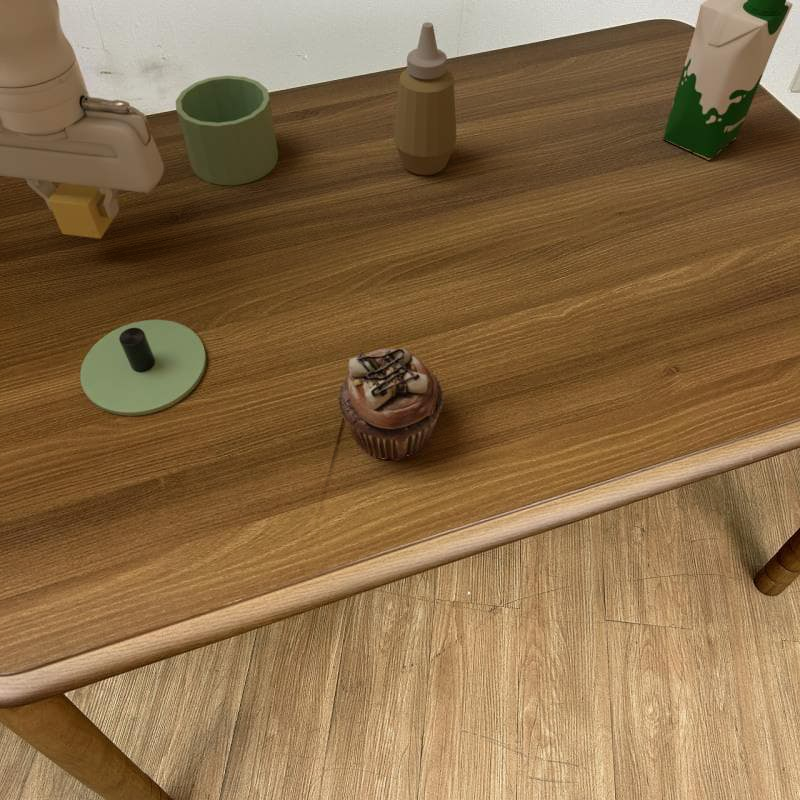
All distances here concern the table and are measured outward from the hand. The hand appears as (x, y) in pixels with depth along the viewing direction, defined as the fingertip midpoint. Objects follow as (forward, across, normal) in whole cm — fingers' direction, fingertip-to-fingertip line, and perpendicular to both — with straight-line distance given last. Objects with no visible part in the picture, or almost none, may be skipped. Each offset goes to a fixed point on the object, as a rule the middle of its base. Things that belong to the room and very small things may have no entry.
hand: (84, 210), depth 82 cm
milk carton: (+6, -70, -35) cm, 79 cm away
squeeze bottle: (+6, -34, -24) cm, 43 cm away
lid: (+6, -12, +16) cm, 21 cm away
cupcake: (+6, -38, +19) cm, 42 cm away
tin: (+6, -10, -21) cm, 24 cm away
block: (+2, 0, 0) cm, 2 cm away
